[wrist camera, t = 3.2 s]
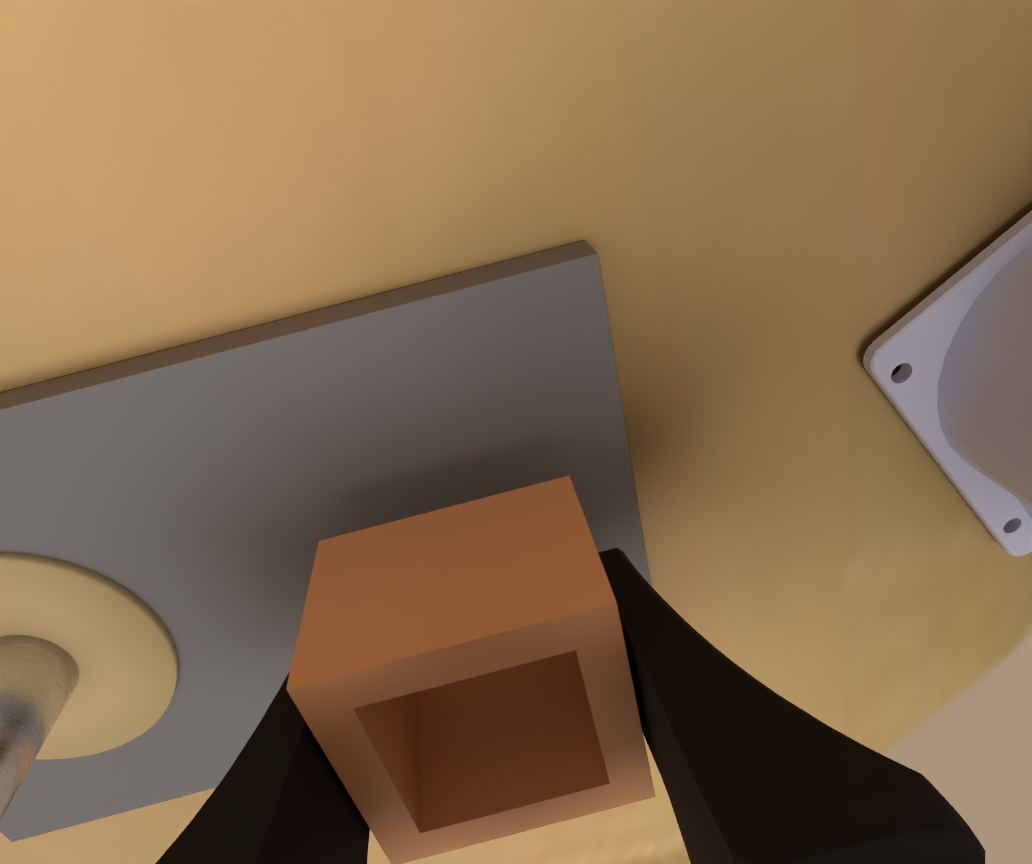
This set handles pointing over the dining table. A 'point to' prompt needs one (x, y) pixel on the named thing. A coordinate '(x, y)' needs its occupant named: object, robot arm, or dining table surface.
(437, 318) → the seat plate
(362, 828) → the robot arm
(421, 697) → the collar
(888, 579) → the dining table surface
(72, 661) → the steel post
